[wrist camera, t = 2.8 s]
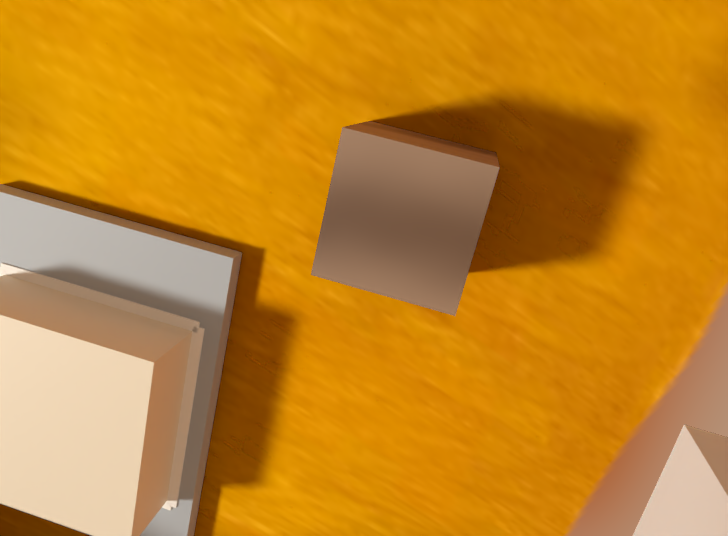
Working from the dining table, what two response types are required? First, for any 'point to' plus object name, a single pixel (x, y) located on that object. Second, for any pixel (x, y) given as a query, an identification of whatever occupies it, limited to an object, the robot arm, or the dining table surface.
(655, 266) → the dining table surface
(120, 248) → the board
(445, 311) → the walnut block
